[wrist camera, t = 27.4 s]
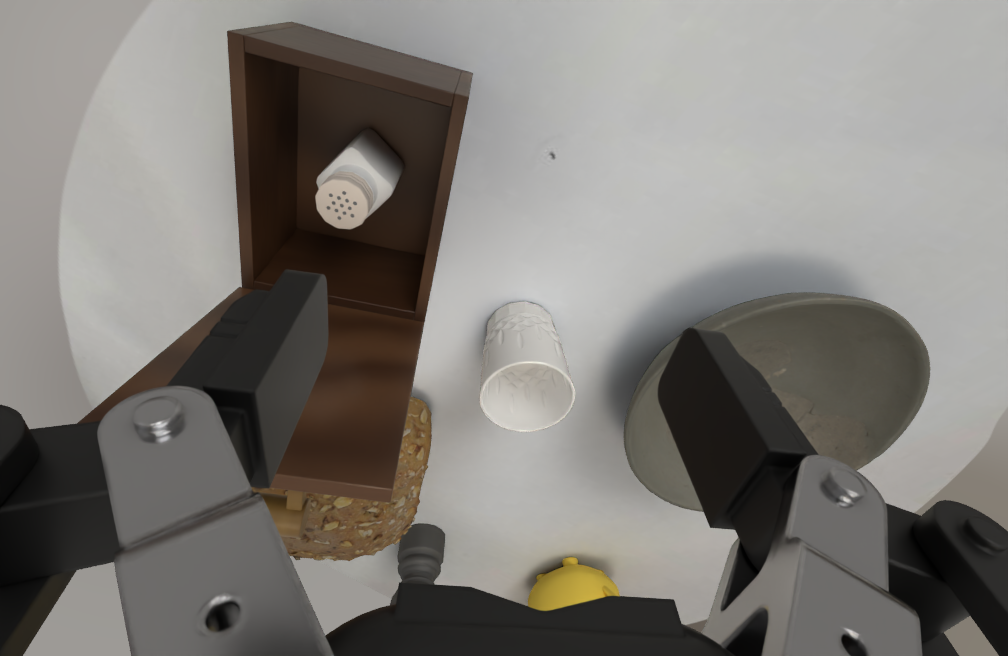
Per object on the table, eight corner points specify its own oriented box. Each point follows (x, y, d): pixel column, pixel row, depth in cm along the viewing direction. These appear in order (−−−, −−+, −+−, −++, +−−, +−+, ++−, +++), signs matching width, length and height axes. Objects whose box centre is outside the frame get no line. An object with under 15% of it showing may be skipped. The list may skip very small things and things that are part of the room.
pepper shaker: (408, 164, 37) (388, 209, 30) (373, 196, 39) (345, 247, 31) (370, 122, 36) (337, 158, 28) (334, 157, 37) (294, 201, 29)
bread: (410, 512, 64) (396, 605, 54) (241, 485, 60) (193, 582, 50) (454, 379, 51) (446, 471, 41) (241, 334, 47) (177, 424, 37)
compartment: (290, 21, 32) (226, 30, 24) (472, 73, 35) (468, 97, 27) (289, 230, 41) (241, 288, 33) (435, 261, 43) (424, 323, 35)
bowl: (659, 483, 62) (680, 543, 56) (564, 334, 48) (577, 390, 41) (885, 401, 55) (941, 459, 48) (851, 198, 41) (924, 238, 34)
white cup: (508, 371, 51) (512, 444, 43) (464, 320, 47) (460, 389, 39) (573, 337, 48) (591, 408, 40) (534, 281, 45) (544, 345, 36)
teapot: (529, 602, 79) (535, 687, 70) (523, 555, 71) (528, 644, 61) (614, 596, 79) (631, 680, 69) (617, 548, 71) (637, 636, 61)
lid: (50, 444, 18) (69, 549, 20) (393, 489, 20) (375, 579, 22) (239, 286, 32) (237, 357, 35) (424, 322, 35) (411, 386, 37)
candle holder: (449, 546, 69) (433, 779, 49) (406, 550, 69) (373, 784, 49) (440, 521, 66) (419, 761, 45) (396, 526, 66) (354, 766, 45)
